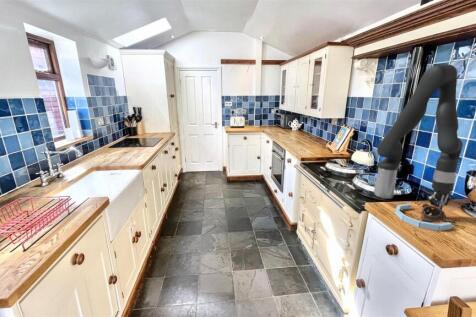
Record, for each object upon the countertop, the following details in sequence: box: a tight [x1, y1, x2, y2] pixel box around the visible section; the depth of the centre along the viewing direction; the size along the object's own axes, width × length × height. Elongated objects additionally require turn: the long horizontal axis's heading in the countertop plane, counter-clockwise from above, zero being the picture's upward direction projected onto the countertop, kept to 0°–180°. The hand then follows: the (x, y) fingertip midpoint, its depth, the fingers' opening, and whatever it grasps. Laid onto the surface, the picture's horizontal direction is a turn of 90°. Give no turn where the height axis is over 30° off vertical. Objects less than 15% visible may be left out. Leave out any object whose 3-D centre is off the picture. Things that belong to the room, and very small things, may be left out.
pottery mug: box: [419, 203, 447, 223], centre depth 106 cm, size 12×10×8 cm
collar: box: [394, 203, 453, 231], centre depth 107 cm, size 14×21×2 cm
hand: (437, 213), depth 109 cm, fingers closed
